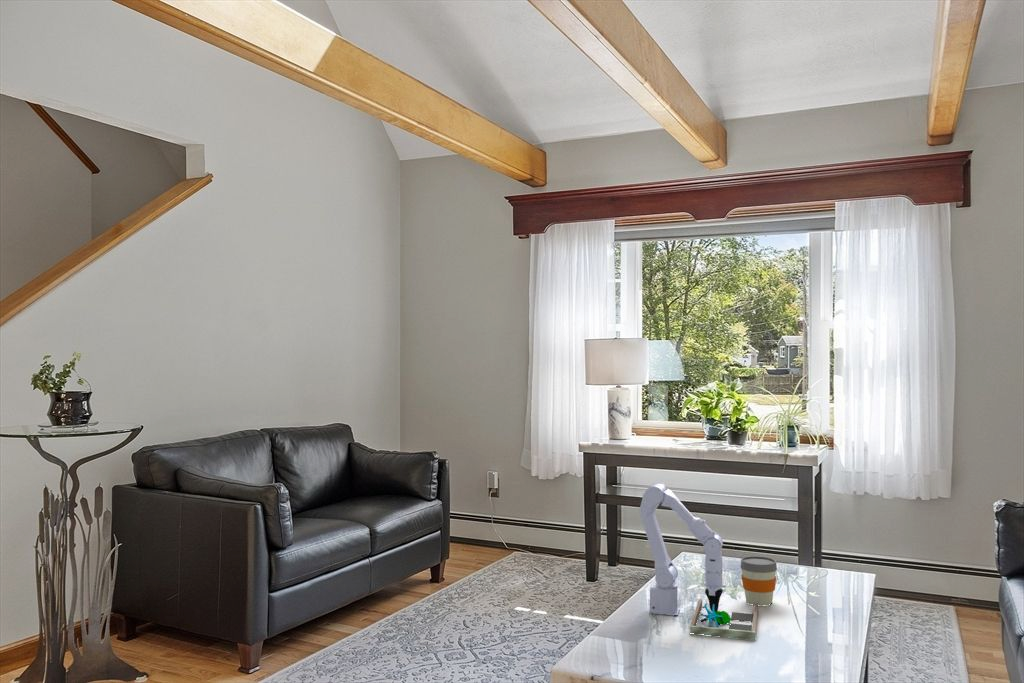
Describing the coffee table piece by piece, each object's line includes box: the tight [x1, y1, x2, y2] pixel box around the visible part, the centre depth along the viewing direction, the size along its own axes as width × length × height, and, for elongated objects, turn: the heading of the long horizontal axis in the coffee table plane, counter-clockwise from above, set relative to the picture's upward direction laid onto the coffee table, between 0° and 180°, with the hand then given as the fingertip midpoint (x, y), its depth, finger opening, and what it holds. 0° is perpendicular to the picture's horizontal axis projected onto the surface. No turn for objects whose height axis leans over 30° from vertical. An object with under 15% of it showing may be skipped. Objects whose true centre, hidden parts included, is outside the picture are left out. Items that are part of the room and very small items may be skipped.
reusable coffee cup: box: [740, 555, 778, 607], centre depth 296 cm, size 12×13×15 cm
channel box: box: [689, 598, 759, 641], centre depth 275 cm, size 20×30×2 cm, turn 162°
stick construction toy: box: [699, 603, 732, 628], centre depth 274 cm, size 12×7×8 cm
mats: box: [728, 612, 754, 631], centre depth 274 cm, size 7×20×1 cm, turn 162°
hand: (714, 611), depth 281 cm, fingers closed
